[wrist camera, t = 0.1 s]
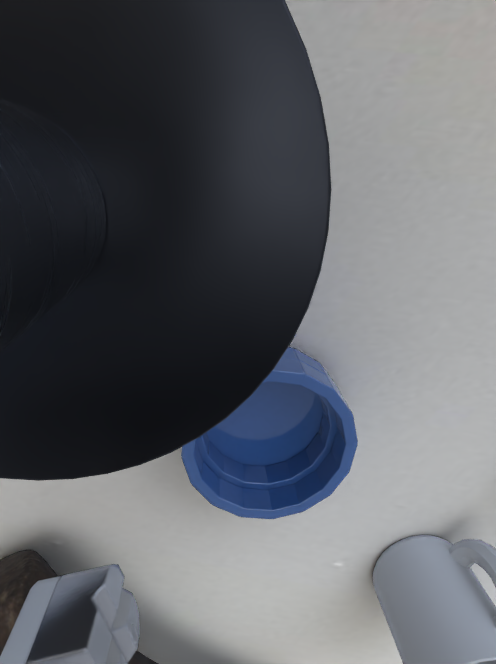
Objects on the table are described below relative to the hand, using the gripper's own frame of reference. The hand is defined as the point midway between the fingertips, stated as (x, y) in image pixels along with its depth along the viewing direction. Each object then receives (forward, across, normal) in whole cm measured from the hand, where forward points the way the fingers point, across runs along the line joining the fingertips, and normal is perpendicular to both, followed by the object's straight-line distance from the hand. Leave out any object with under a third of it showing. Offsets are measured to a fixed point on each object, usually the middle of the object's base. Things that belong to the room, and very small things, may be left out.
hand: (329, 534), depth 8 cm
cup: (+18, -8, +24) cm, 31 cm away
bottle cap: (+18, +1, +8) cm, 19 cm away
